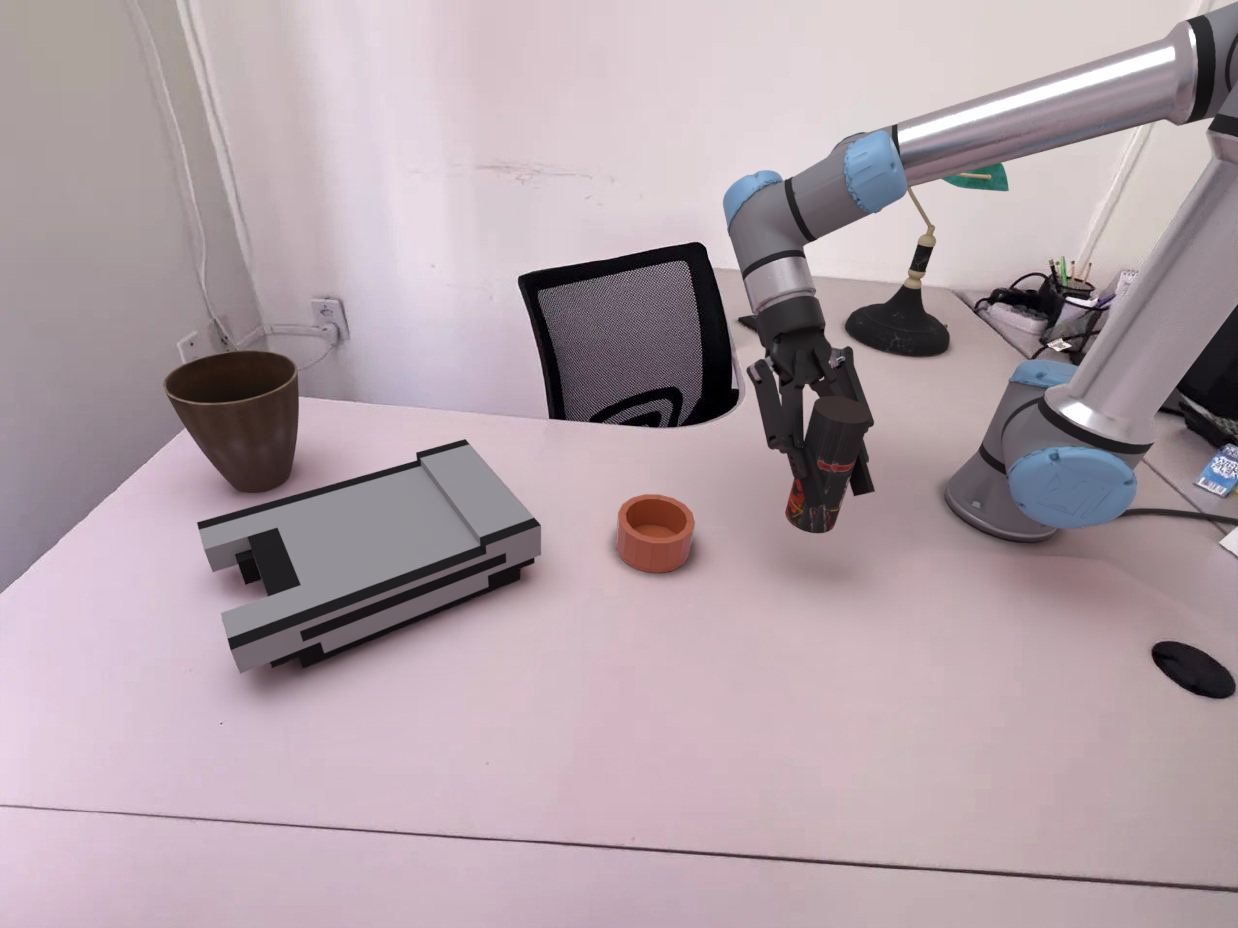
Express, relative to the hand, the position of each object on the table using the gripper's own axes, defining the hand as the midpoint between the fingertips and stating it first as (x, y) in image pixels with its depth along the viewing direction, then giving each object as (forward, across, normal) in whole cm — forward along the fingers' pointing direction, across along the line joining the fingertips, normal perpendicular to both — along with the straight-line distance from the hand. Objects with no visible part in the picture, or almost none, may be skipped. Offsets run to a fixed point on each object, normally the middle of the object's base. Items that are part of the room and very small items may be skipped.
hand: (841, 499), depth 73 cm
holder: (0, +16, -19) cm, 25 cm away
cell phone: (-38, -43, -58) cm, 82 cm away
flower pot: (-22, +61, -42) cm, 77 cm away
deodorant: (+1, 0, -6) cm, 7 cm away
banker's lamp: (-32, -71, -52) cm, 94 cm away
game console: (-5, +48, -24) cm, 54 cm away
